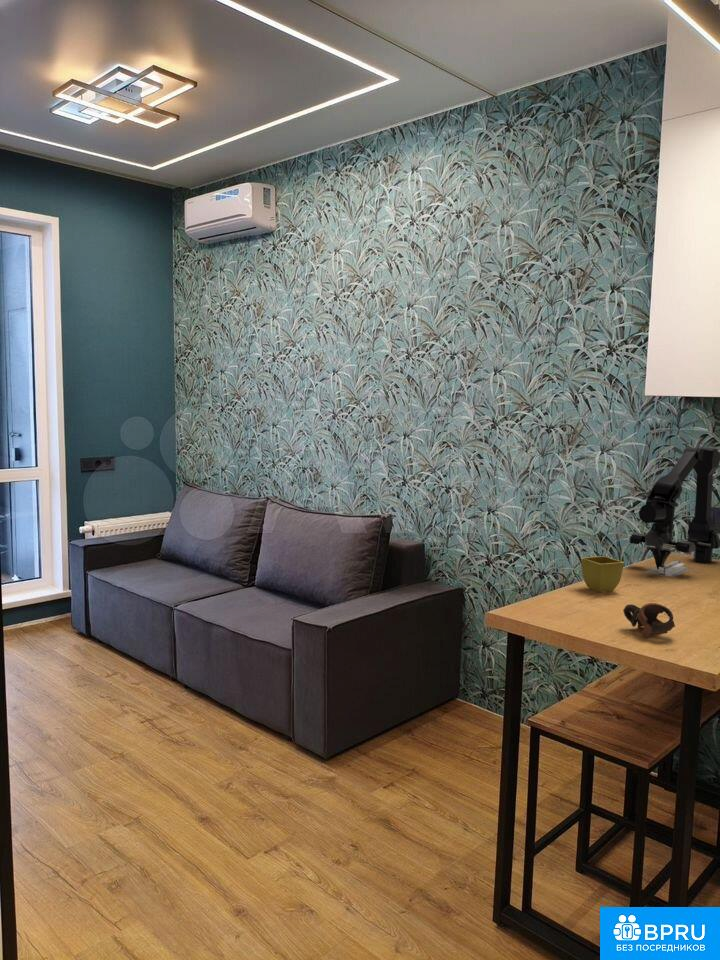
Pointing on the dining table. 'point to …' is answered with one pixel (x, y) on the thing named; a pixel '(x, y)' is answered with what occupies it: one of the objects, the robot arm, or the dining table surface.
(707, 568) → the dining table surface
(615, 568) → the flower pot
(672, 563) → the tong arm
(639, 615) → the dark brown openwork sculpture
